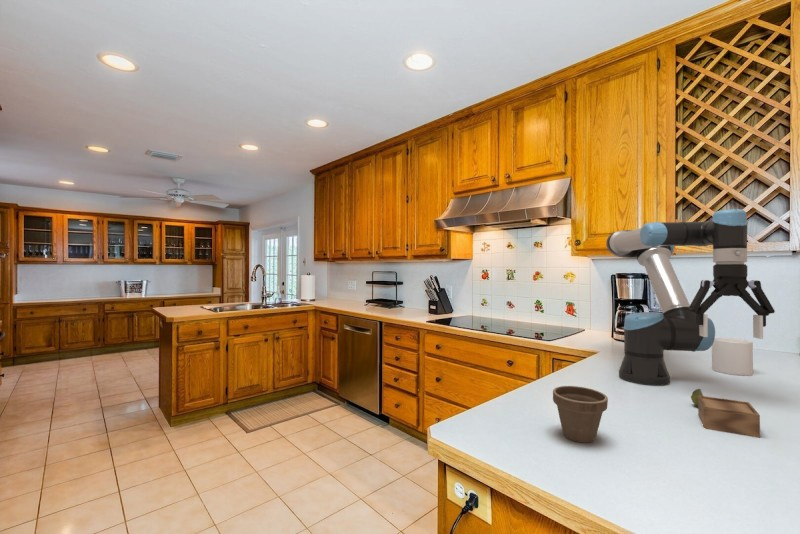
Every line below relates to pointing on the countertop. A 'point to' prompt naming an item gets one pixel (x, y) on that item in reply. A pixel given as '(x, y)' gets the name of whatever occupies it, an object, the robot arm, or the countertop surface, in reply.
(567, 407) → the flower pot
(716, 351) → the cup
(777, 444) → the countertop surface
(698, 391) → the lime
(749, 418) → the walnut tray
